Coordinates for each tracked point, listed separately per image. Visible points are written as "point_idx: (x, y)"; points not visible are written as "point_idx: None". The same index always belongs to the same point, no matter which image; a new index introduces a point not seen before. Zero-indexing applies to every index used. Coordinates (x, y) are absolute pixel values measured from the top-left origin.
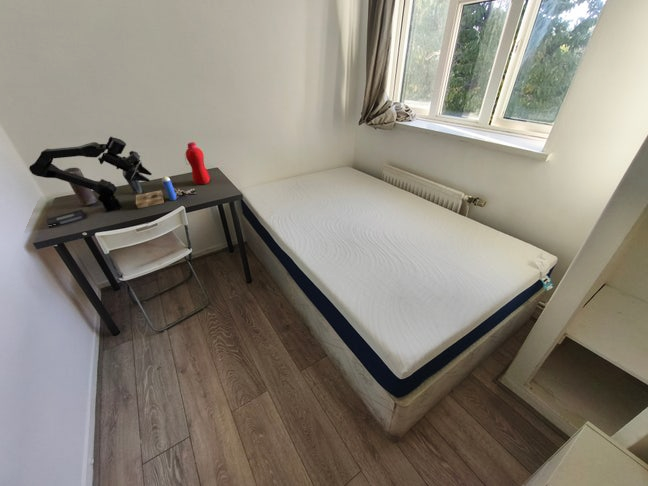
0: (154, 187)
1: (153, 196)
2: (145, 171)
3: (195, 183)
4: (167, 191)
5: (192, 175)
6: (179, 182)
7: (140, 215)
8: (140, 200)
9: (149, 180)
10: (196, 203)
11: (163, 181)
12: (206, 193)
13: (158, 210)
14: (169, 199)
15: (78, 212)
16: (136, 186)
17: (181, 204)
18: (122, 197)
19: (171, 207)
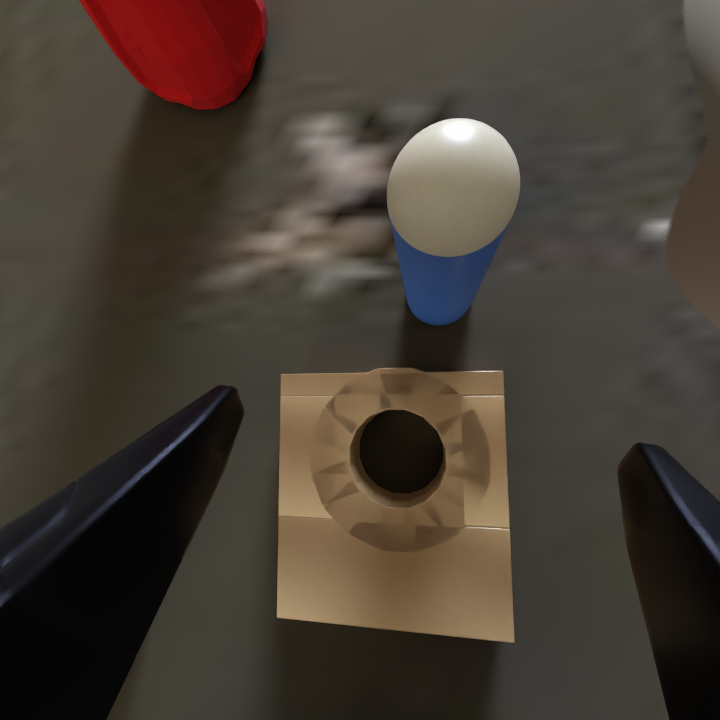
0: (101, 437)
1: (354, 454)
2: (160, 510)
3: (231, 96)
4: (475, 288)
5: (162, 36)
6: (110, 237)
7: None
8: (447, 587)
9: (652, 450)
10: (658, 99)
11: (497, 234)
12: (468, 21)
13: (648, 431)
14: (447, 323)
15: None
16: None
17: (610, 227)
18: (165, 715)
19: (636, 314)
